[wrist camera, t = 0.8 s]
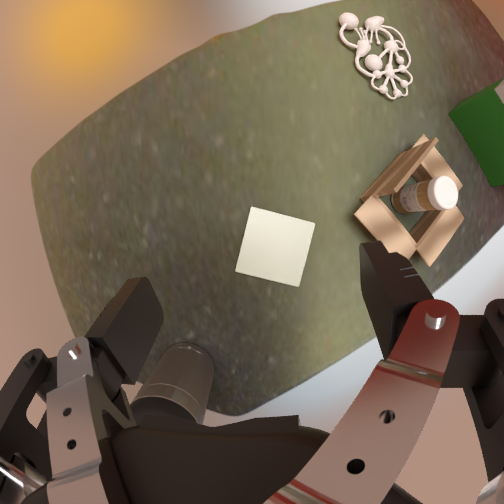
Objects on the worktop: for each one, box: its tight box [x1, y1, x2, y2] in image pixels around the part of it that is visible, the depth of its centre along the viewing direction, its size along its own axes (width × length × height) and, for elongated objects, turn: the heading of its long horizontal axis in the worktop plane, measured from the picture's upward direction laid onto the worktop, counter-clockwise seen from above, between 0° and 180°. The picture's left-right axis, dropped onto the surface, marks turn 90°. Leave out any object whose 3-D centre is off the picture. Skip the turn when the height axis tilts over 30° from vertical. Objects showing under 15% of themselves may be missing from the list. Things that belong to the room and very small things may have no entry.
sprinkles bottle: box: [391, 176, 458, 214], centre depth 38 cm, size 5×5×13 cm
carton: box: [354, 134, 464, 267], centre depth 39 cm, size 15×19×12 cm
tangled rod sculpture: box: [339, 13, 413, 100], centre depth 41 cm, size 19×14×4 cm
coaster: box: [235, 207, 315, 287], centre depth 45 cm, size 10×10×1 cm
